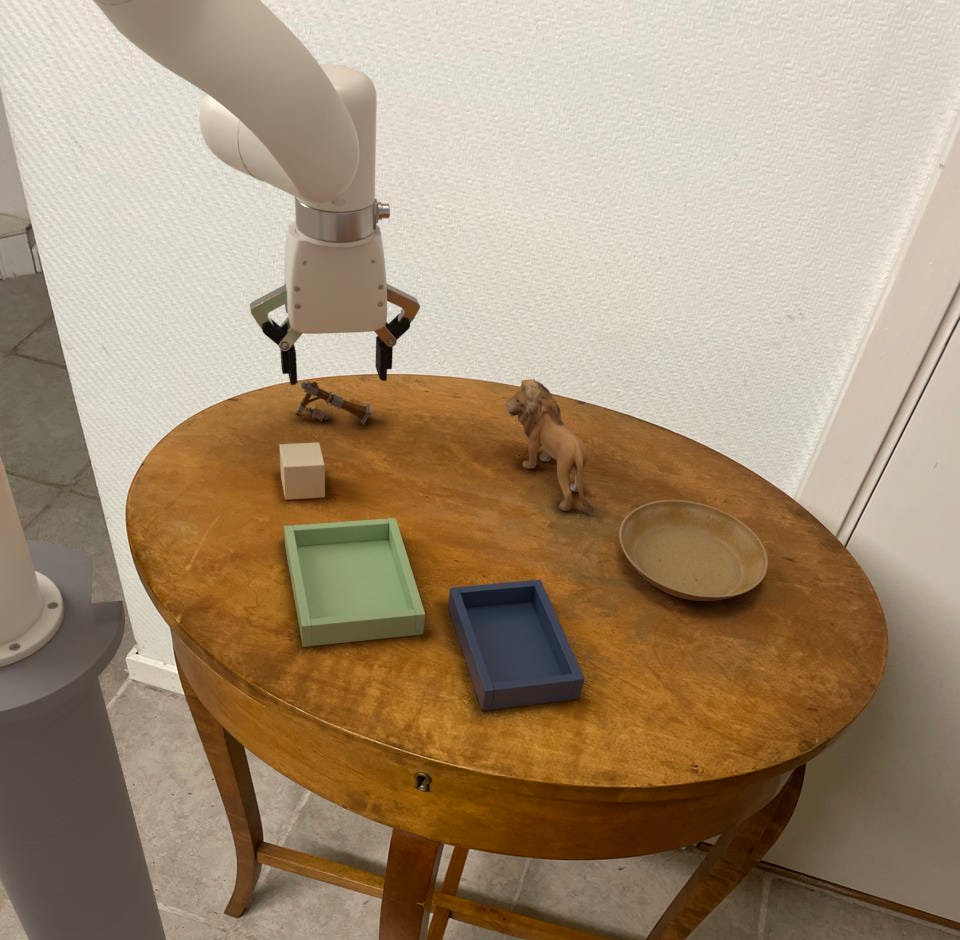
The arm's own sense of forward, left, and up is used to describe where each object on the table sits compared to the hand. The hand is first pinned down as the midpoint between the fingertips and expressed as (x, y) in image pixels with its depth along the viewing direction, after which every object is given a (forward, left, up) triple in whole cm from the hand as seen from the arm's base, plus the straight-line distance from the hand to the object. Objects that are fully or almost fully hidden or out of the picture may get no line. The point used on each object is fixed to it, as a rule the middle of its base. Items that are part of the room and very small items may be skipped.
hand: (337, 376), depth 103 cm
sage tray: (-3, -28, -5) cm, 29 cm away
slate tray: (+10, -38, -5) cm, 40 cm away
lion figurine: (+21, -13, -6) cm, 25 cm away
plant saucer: (+31, -29, -6) cm, 43 cm away
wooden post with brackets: (0, 0, -6) cm, 6 cm away
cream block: (-5, -12, -5) cm, 14 cm away
